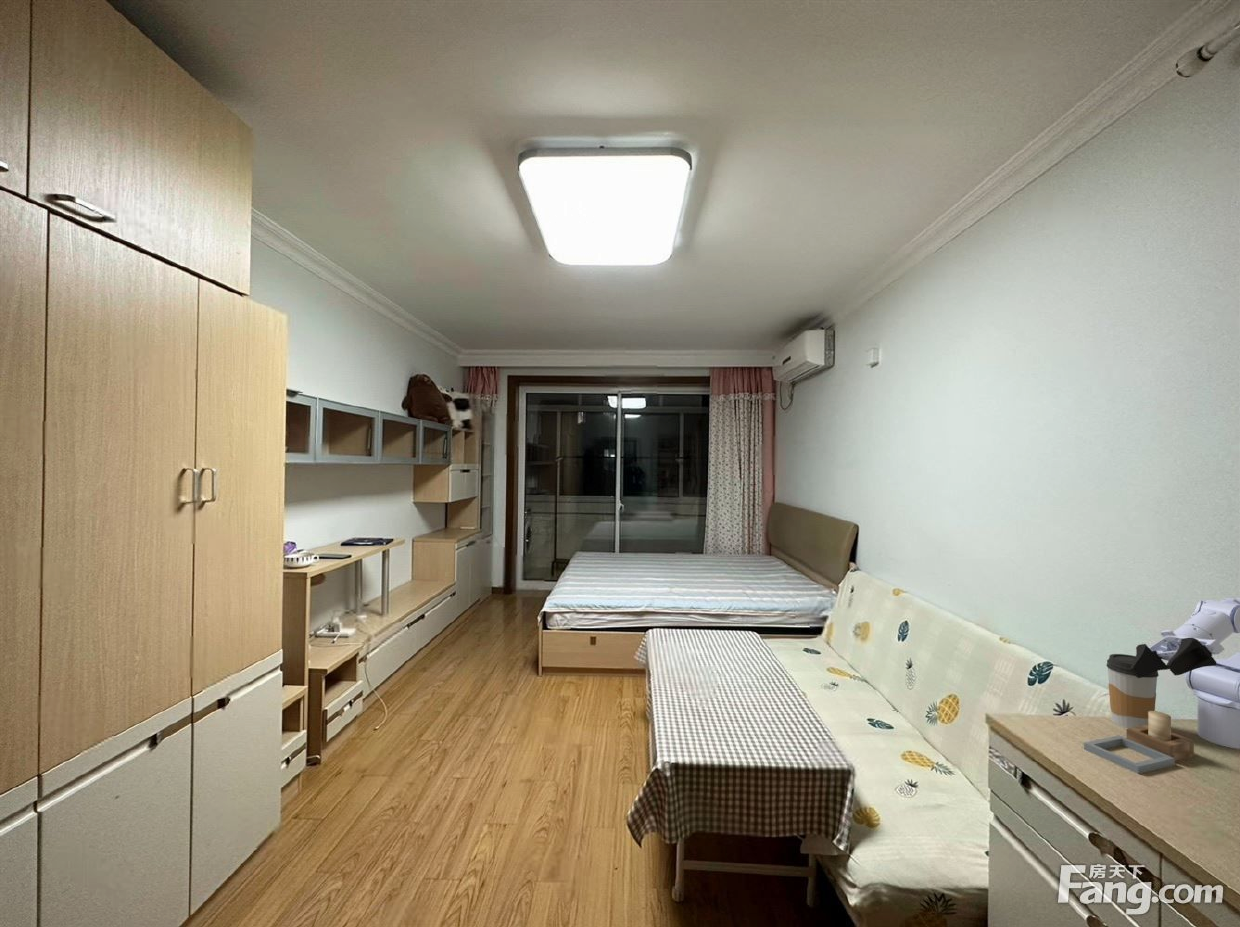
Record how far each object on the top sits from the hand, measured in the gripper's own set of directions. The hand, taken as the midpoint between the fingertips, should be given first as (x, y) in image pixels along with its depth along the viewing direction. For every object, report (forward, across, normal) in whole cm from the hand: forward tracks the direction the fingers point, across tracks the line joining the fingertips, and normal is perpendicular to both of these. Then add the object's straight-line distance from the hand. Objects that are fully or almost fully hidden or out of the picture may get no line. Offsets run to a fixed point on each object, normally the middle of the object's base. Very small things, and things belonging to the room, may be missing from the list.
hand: (1153, 671), depth 107 cm
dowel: (+4, -8, +14) cm, 16 cm away
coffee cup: (-2, -18, +13) cm, 22 cm away
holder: (+4, -8, +15) cm, 17 cm away
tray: (+12, -6, +11) cm, 18 cm away
